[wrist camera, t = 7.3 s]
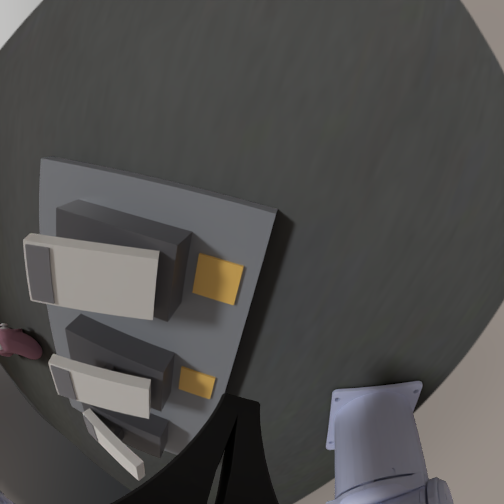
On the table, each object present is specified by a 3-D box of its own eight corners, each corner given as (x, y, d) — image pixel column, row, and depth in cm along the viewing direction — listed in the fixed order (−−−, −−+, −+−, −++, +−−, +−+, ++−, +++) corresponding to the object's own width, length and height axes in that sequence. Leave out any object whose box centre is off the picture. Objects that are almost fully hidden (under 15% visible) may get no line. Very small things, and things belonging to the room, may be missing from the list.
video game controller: (40, 320, 28) (-7, 323, 21) (46, 358, 27) (0, 366, 21) (7, 323, 30) (-32, 325, 24) (12, 355, 30) (-26, 360, 23)
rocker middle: (151, 379, 19) (148, 391, 18) (150, 409, 21) (148, 419, 20) (53, 353, 18) (47, 363, 17) (61, 385, 19) (57, 395, 18)
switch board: (277, 209, 18) (269, 232, 13) (205, 455, 29) (195, 486, 25) (51, 156, 19) (7, 165, 14) (76, 400, 30) (58, 423, 26)
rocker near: (159, 251, 16) (158, 260, 15) (153, 310, 17) (152, 321, 16) (30, 233, 14) (22, 241, 13) (36, 291, 15) (30, 301, 14)
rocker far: (143, 461, 21) (135, 467, 20) (145, 475, 22) (137, 481, 21) (89, 408, 24) (81, 412, 23) (95, 427, 26) (87, 431, 25)
